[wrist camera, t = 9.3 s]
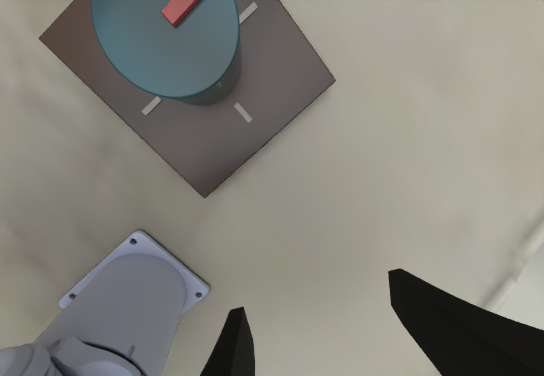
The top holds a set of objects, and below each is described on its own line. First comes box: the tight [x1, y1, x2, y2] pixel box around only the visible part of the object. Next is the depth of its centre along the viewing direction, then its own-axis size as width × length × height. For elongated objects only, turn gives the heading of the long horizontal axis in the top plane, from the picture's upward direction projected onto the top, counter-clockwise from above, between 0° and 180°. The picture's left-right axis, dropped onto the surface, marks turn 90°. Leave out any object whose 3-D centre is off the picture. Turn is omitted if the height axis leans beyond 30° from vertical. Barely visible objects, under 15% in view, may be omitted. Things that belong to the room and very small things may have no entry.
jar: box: [91, 0, 241, 106], centre depth 12 cm, size 5×5×7 cm
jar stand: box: [39, 0, 336, 198], centre depth 16 cm, size 13×12×2 cm
